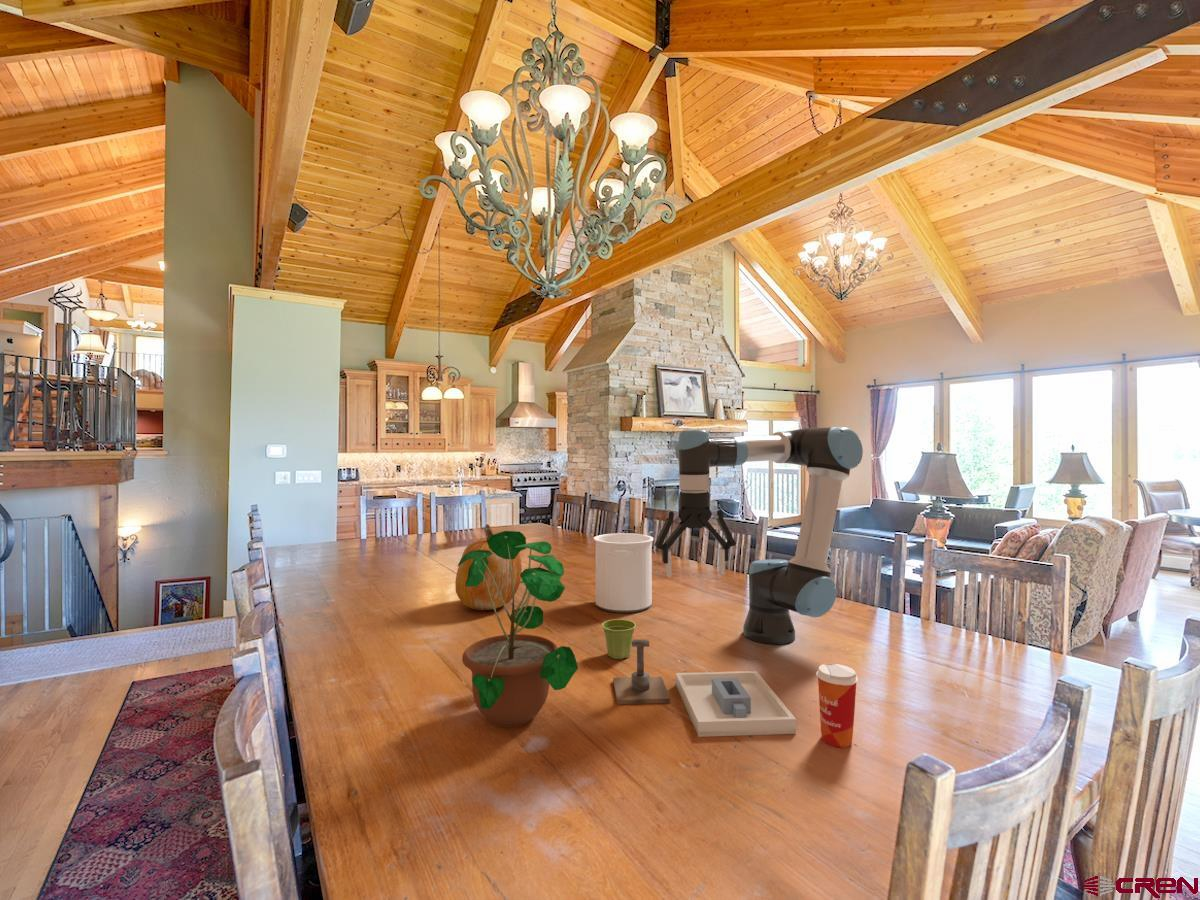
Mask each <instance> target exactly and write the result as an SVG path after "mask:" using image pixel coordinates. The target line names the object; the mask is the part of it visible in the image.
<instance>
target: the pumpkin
mask: <svg viewBox="0 0 1200 900" xmlns="http://www.w3.org/2000/svg"><path fill="white" fill-rule="evenodd" d="M484 534H485V538H481V539H478V540H476V541H473V542H472V543H470V544H468V545H467V546H466V547H465V548H464V551H463V552H462V555H461V558H462V557H463V556H464V555H465V554H467V553H468V552H470V551H474V550H488V551H490V552H492V551H491V549H490V548H489V546H488V543H487V542H488V540H489V538H490V537H491V535H494V532H493V530H492V528H491V526H490V525H489V524H485V526H484ZM492 553H493V554H492V555H491V556H488V557H487V559H488V561H489V563H488V568H489V570H490V572H491V574H492V576H493V578H494V580H495V582H496V584H497V586H498V588H499V591H500V593H501V596H502V598H503V601H504V603H505V605H506V604H508V603H509V602H510V601H511V600H513V593H512V580H511V570H510V560H511V568H512V576H513V585H514V596H515V595H516V593H517V591H518V589H519V586H520V584H521V583H520V581H522V579H521V576H520V574H521V573H522V572H523V571H522V569H523V568H522V567H523V566H522V560H521V556H520V553H519V554H518V555H517V556H516V557H515V559H510V560H509V559H504V558H502V557H499V556H497V555H496V554H495V553H494V552H492ZM473 559H474V558H473ZM473 559H469V560H467V561H465V562H463V563H462V564H460V565H459V566H457V567H458V568H457V571H456V576H455V593H456V595H457V597H458V599H459V601H460V602H461V603H462V604H464V606H465V607H468V608H470V609H472V610H475V611H490V610H492V611H494V609H493V606H492V603H491V600H490V596H489V592H488V588H489V591H490V595H491V598H492V601H493V604H494V607H495V609H496V610H498V609H499V608H501V607H504V605H503V603H502V600H501V597H500V595H499V592H498V590H497V588H496V586H495V583H494V581H493V579H492V577H491V575H490V573H489V571H488V569H487V568H486V572H485V575H484V577H485V579H486V581H487V584H488V588H487V585H486V581H485V579H483V581H482V582H481V583H480V584H479V585H478V586H477V587H474V586H471V587H466V586H465V584H466V581H467V578H468V571H469V567H470V565H471V563H472V561H473Z"/></svg>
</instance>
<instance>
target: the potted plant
mask: <svg viewBox="0 0 1200 900" xmlns="http://www.w3.org/2000/svg"><path fill="white" fill-rule="evenodd" d="M487 543H488V546H489V548H490V549H491V551H492V552H494V553H495V554H496V555H497V556H499V557H502V558H504V559H509V560H510V559H515V557H516V556H517V555H518V554H519V555H520V552H521V551H524V550H526V549H529V555H528V556H527V558H528V568H524V569H523V571H522V573H521V574H520V576H521V580H520V584H524V585H525V590H524V593H523V595H522V597H521V600H520V601H519V603H518V606H517V607H516V609H515V595H514V585H513V576H512V568H511V560H510V570H511V580H512V593H513V598H512V603H511V605H512V606H511V613H509V611H508V607H507V606H506V604H505V603H504V601H503V598H502V596H501V593H500V591H499V588H498V586H497V584H496V582H495V580H494V578H493V576H492V574H491V572H490V570H489V568H488V563H489V561H488V559H487V557H488V556H491V555H492V554H493V553H492V552H490V551H488V550H474V551H470V552H468V553H467V554H465V555H464V556H463V557H462V556H461V558H460V559H459V560H460V561H459V562H458V564H457V567H459V565H460V564H462V563H463V562H465V561H467V560H469V559H473V558H474V559H473V561H472V563H471V565H470V567H469V571H468V578H467V581H466V584H465V586H466V587H471V586H474V587H477V586H478V585H479V584H480V583H481V582H482V581H483V579H485V577H484V575H485V572H486V568H487V569H488V571H489V573H490V575H491V577H492V579H493V581H494V583H495V586H496V588H497V590H498V592H499V595H500V597H501V600H502V603H503V609H504V610H505V612H506V614H507V617H508V618H509V621H510V631H509V634H507V632H506V629H505V628H504V625H503V624H502V622H501V619H500V616H499V614H498V613H497V609H495V607H494V604H493V601H492V598H491V595H490V591H489V588H488V584H487V581H486V579H485V581H486V585H487V588H488V592H489V596H490V600H491V603H492V606H493V609H494V610H493V611H494V614H495V617H496V618H497V619H496V620H497V622H498V623H499V625H500V629H501V631H502V632H503V634H501V635H497V636H496V635H495V636H491V637H486V638H484V639H481V640H478V641H476V642H474V643H472V644H470V645H469V646H468V647H467V648H465V650H464V652H463V653H462V658H461V660H462V663H463V664H462V665H464V666H465V667H466V668H468V669H469V670H470V671H471V686H472V689H471V690H472V694H473V695H472V696H473V701H474V703H475V705H476V707H477V710H479V712H480V713H481V715H482V716H483V717H484V718H486V719H487V720H488V721H489V722H490V723H491V724H493V725H495V726H498V727H502V728H503V727H504V728H512V727H513V728H514V727H518V726H521V725H522V726H523V725H525V724H528V723H529V722H530V721H531V720H533V718H534V717H535V716H536V715H537V714H538V713H539V712H540V711H541V709H542V708H543V707H544V706H545V704H546V700H547V698H548V695H549V689H550V686H551V688H552V689H553V690H554V691H560V690H563V689H565V688H566V687H567V685H568V684H569V682H570V681H571V679H572V677H573V676H574V675H575V673H576V672H577V671H578V669H579V667H578V663H577V658H576V656H575V655H576V654H575V653H574V651H573V649H572V648H571V647H569V646H564V645H562V646H561V645H560V646H559V647H558V646H557V644H555V642H553V641H552V640H550V639H548V638H545V637H543V636H538V635H534V634H525V633H524V634H523V633H520V634H519V632H521V631H522V630H523V629H527V630H533V629H537V628H539V627H540V626H541V625H543V624H544V623H543V622H544V611H543V609H542V608H541V607H539V606H535V604H536V600H539V601H543V602H549V603H551V602H555V601H557V600H558V599H560V598H561V596H562V594H563V592H564V590H565V589H566V587H565V586H564V584H563V583H562V582H561V578H562V577H563V575H565V574H564V573H565V570H564V569H565V568H564V565H563V563H562V562H561V561H560V560H558V559H557V558H556V557H555V556H554V555H553V554H550V553H551V551H552V549H553V547H552V544H550V543H549V542H547V541H545V540H543V541H536V542H535V541H534V542H528V543H527V539H526V536H525V535H524V534H523V533H522V532H521V531H516V530H513V531H512V530H504V531H501V532H498V533H493V535H491V537H490V538H489V540H488V542H487ZM532 551H534V552H537V553H540V554H541V555H534V554H532ZM531 561H534V562H537V563H539V564H540V565H539V566H538V567H531V563H532V562H531ZM542 565H543V567H545V568H546V569H545V568H543V567H542ZM526 595H527V596H526ZM531 596H532V597H534V599H533V602H532V605H528V604H529V601H530V598H531ZM525 598H526V599H525ZM518 627H520V628H519V629H518Z"/></svg>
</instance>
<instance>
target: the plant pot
mask: <svg viewBox="0 0 1200 900" xmlns="http://www.w3.org/2000/svg"><path fill="white" fill-rule="evenodd" d="M636 624H637V623H635V622H634V621H632V620H630V619H629V620H628V619H619V618H618V619H617V618H616V619H609V620H605V621H604V622H602V623H601V627H602V629H603V633H604V635H605V643H606V651H607V656H608V657H610V658H611V659H614V660H624V659H625V658H627V659H628V658H630V656H631V651H632V650H631V649H632V640H633V636H634V635H633V634H634V632H635V629H636V627H637V625H636Z"/></svg>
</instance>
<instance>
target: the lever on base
mask: <svg viewBox="0 0 1200 900" xmlns="http://www.w3.org/2000/svg"><path fill="white" fill-rule="evenodd" d="M635 647H636V671H635V672H632V673H631V677H627V676H626V677H612V679H613V680H612V683H613V687H614V694H615V699H616V704H617V705H635V704H636V705H637V704H639V705H640V704H641V705H643V704H670V703H671V697H670V695H669V692H668V690H667V687H666V684H665V682H664V679H663V678H662V676H650V674H649V673H648V672H646V671H645V670H644V668H645V659H644V658H645V652H644V651H645V650H644V649H645V647H650V640H649V639H647V638H646V639H644V638H643V639H642V638H641V639H632V644H631V648H635Z"/></svg>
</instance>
